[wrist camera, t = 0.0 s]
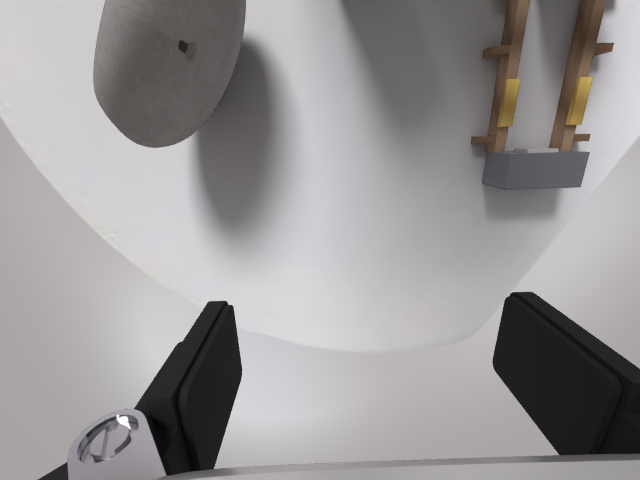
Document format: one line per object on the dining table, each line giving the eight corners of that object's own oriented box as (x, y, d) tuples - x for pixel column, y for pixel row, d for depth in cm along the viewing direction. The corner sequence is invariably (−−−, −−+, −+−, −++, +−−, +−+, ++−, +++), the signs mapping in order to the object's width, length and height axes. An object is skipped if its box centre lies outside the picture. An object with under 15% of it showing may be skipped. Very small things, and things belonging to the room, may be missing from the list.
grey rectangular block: (487, 148, 38) (511, 150, 34) (556, 146, 38) (590, 148, 34) (482, 183, 40) (504, 189, 35) (549, 181, 40) (580, 187, 35)
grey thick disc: (219, -33, 32) (98, -244, 14) (278, 6, 33) (236, -144, 15) (161, 129, 37) (20, 122, 19) (214, 157, 38) (128, 175, 21)
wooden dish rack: (504, -104, 30) (521, -125, 28) (635, -107, 30) (663, -128, 28) (469, 152, 39) (480, 153, 36) (573, 149, 39) (590, 150, 36)
